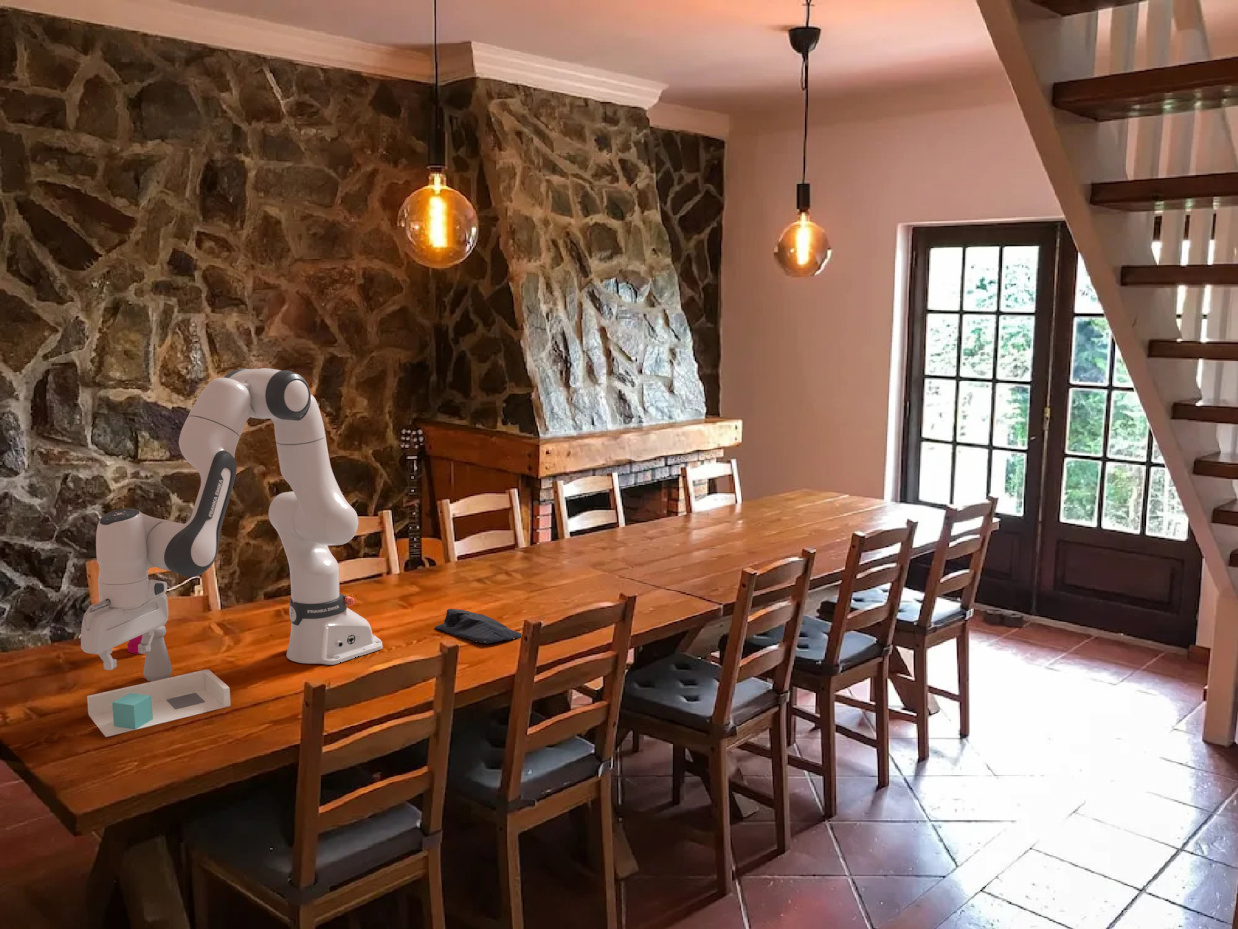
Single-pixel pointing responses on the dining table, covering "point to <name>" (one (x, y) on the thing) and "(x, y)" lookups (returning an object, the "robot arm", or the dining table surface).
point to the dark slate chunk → (476, 627)
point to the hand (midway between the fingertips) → (127, 660)
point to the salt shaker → (157, 658)
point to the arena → (164, 699)
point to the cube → (132, 711)
